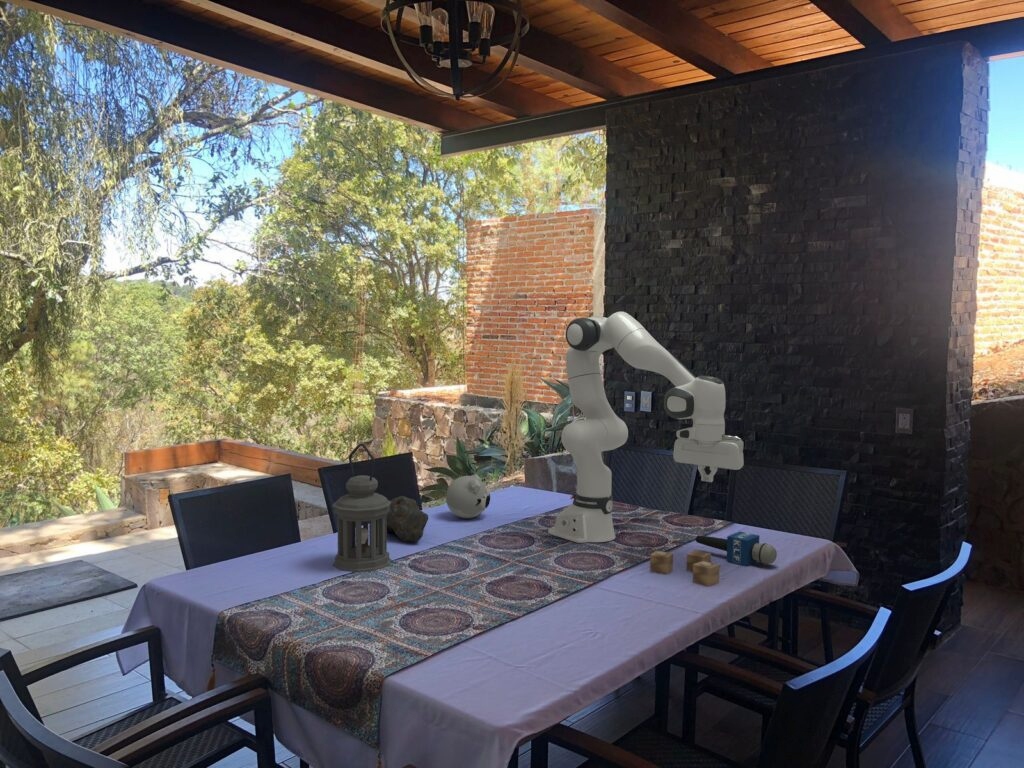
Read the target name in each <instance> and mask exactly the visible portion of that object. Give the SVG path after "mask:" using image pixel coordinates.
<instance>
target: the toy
mask: <svg viewBox="0 0 1024 768" xmlns="http://www.w3.org/2000/svg"><path fill="white" fill-rule="evenodd" d="M490 501H491V495H490V492H489V491H488V489H487V487H486V485H485V484H484V482H483V481H482V478H481V477H480V476H479V475H478V474H477V473H474V474H472V475H463V476H459V477H457V478H455V479H454V480H453V481H452V482H451V483H450V484H449V486H448V487H447V489H446V493H445V502H446V505H447V507H448V509H449V511H450V512H451V513H452V514H453V515H455V516H457V517H458V518H462V519H472V518H475V517H478V516H479V515H481V514H482V513H484V511H485V510H486V509H487V508H488V507H489V505H490Z"/></svg>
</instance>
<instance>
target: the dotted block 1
mask: <svg viewBox="0 0 1024 768" xmlns="http://www.w3.org/2000/svg"><path fill="white" fill-rule="evenodd" d="M649 557H650V561H649V562H650V563H649V564H650V565H649V568H650V569H649V572H650V571H651V572H650V573H654V572H656V573H655V574H660V573H662V574H661V575H666V574H668V573H669V572H670V571H671V572H672V571H673V570H674V552H670V551H661V550H654V552H652V553H651V554H650V556H649ZM671 572H670V573H671ZM670 573H669V574H670Z"/></svg>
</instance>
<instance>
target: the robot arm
mask: <svg viewBox="0 0 1024 768" xmlns="http://www.w3.org/2000/svg"><path fill="white" fill-rule="evenodd" d="M565 340H566V342H567V345H568V346H569V348H568V349H567V351H565V352H566V354H565V369H566V377H567V383H568V388H569V394H570V399H571V403H572V404H573V405H574V406H575V407H576V408H577V409H579V411H581V413H582V414H583V416H584V418H585V419H578V420H575V421H573V422H570V423H568V424H566V425H565V426H564V427H563V429H562V431H561V436H560V438H561V443H562V446H563V447H564V449H565V451H567V452H568V453H569V454H570V455H571V457H572V459H573V461H574V464H575V469H576V478H577V480H576V481H577V484H576V485H577V490H576V491H577V492H576V493H573V494H571V495H570V498H569V499H570V500H573V501H572V503H571V504H569V506H567V507H566V508H565V509H563V510H562V511H560V512H559V513H558V514H557V516H556V518H555V522H554V523H555V524H554V526H552V527H550V528H549V529H548V530H547V534H548V535H552V536H555V537H559V538H560V539H564V540H568V541H571V542H575V543H578V544H582V543H605V542H611V541H613V540H615V539H616V533H615V529H614V524H613V523H614V522H613V513H612V512H613V505H614V503H613V501H614V500H613V497H614V496H613V494H612V482H613V481H612V479H613V478H612V475H613V473H612V470H611V469H610V467H608V466H607V465H606V464H605V463H604V461H603V457H602V452H606V451H607V452H608V451H613V450H615V449H617V448H619V447H621V446H623V445H625V443H627V441H628V439H629V430H628V426H627V424H626V423H625V421H624V420H623V419H621V418H620V417H619V416H618V415H617V414H616V413H615V412H614V410H613V408H612V406H611V405H610V403H609V401H608V398H607V395H606V391H605V386H604V383H603V378H602V372H601V368H600V367H601V366H600V357H601V355H603V356H607V355H608V354H611V352H612V351H614V350H615V352H617V354H618V355H619V356H620V357H621V359H622V360H623V361H624V362H626V363H627V364H628V365H629V366H631V367H633V368H634V369H639V370H644V371H649V372H654V373H657V374H660V375H662V376H663V377H665V378H666V379H668V381H670V382H671V383H672V385H674V386H675V387H672V388H670V389H669V390H668V391H666V394H665V395H664V399H663V400H664V401H663V406H664V410H665V411H666V414H667V415H668V416H669V417H671V418H673V419H676V420H686V419H688V420H689V419H690V420H691V419H692V426H688V427H686V428H682V429H680V430H677V431H676V433H675V434H676V437H677V439H676V440H675V441H674V445H673V455H672V456H673V458H672V459H673V460H674V462H675V463H679V464H680V463H681V464H688V465H694V466H695V465H697V470H698V472H699V474H700V477H701V479H700V480H701V481H702V482H707V483H712V482H713V481H714V476H715V475H716V473H717V472H718V468H719V469H726V470H735V471H737V470H741V469H742V468H743V467H744V465H745V464H744V463H745V461H744V452H743V451H744V441H743V440H742V438H740V437H739V436H737V435H729V434H727V435H726V434H725V433H726V432H725V430H726V429H725V428H726V422H725V421H726V420H725V417H724V416H725V410H726V402H727V401H726V387H725V385H724V381H722V380H721V379H720V378H719V377H714V376H709V375H699V376H697V377H696V376H695V375H694V374H693V373H692V372H691V371H690V370H689V369H688V368H687V367H686V365H684V364H683V363H682V362H681V361H680V360H679V359H678V358H677V357H675V356H674V355H673V353H671V352H670V351H668V350H666V348H665V347H664V346H662V345H661V344H660V343H659V342H658V341H657V340H656V339H655V338H654V337H653V336H652V335H651V334H650V332H648V330H646V328H645V327H644V326H643V325H642V324H641V323H640V322H639V321H638V320H636V319H635V318H634V317H633V316H632V315H630V314H629V313H627V312H626V311H616V312H614V313H612V314H611V315H609V316H608V317H604V316H593V317H579V318H574V319H573V320H571V321H570V322H569V323H568V324H567V326H566V329H565ZM706 467H709V471H710V473H709V474H707V473H706V471H705V469H706Z"/></svg>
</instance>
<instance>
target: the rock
mask: <svg viewBox="0 0 1024 768" xmlns="http://www.w3.org/2000/svg"><path fill="white" fill-rule="evenodd" d="M390 501H391V504H390V509H389V511H388V513H387V514H386V522H387V533H390V532H391V533H393V532H394V533H395V535H396V536H397V537H398V538H399V539H400V540H401V541H403V542H406V543H413V542H418V541H419V540H421V539H422V537H423V535H424V531H425V528H426V526H427V523H428V520H429V515H428V514H427V513H426V512H424V511H422V510H420V509H421V508H420V506H418V503H417V501H416V499H413V498H409V497H406V496H404V495H400V496H398V497H394V498H393V499H391V500H390Z"/></svg>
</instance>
